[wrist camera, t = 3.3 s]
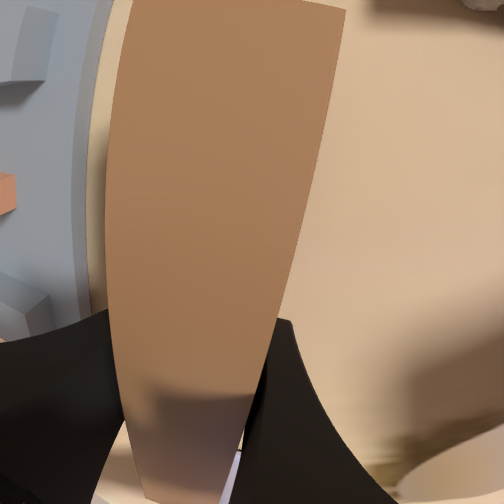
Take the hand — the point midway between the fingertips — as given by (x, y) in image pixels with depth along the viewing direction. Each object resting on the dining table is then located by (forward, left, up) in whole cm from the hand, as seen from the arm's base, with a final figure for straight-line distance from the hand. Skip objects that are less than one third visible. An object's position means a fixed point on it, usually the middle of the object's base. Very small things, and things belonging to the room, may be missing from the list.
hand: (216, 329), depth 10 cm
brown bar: (0, 0, -2) cm, 2 cm away
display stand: (+2, +12, -3) cm, 13 cm away
